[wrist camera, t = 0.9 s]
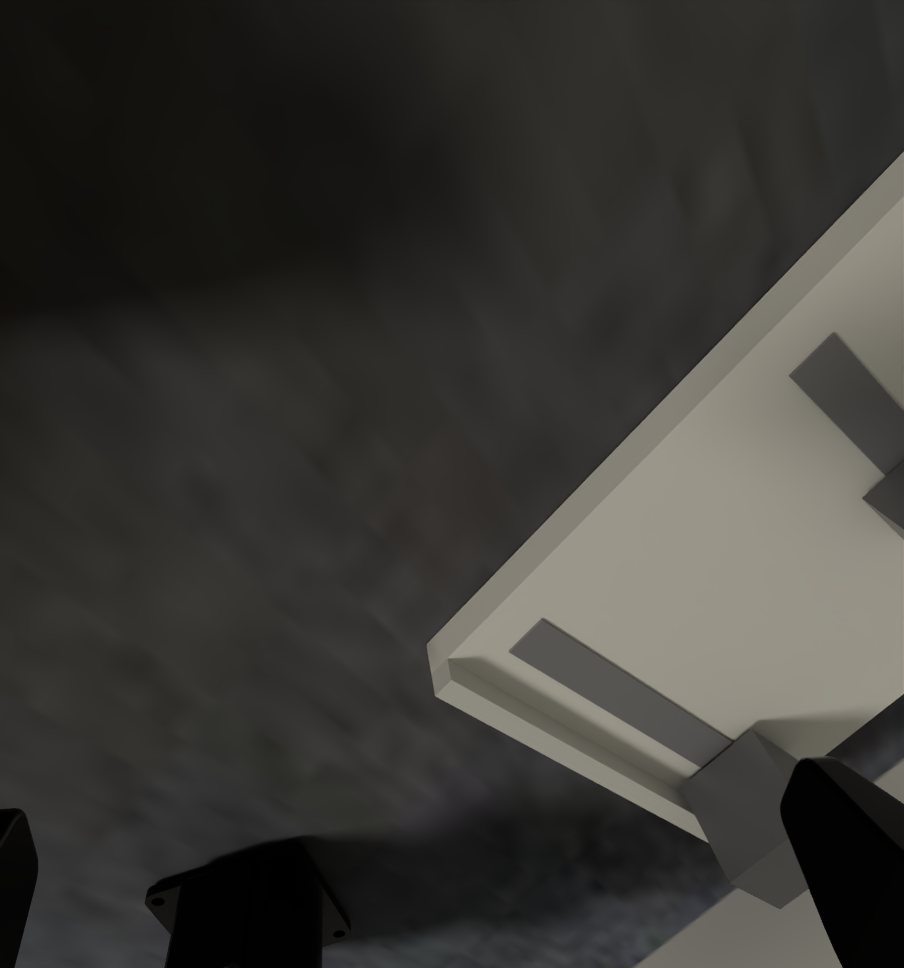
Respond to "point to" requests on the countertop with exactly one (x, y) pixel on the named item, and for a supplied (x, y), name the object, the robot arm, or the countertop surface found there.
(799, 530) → the switch panel
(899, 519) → the block
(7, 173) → the countertop surface
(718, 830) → the block
